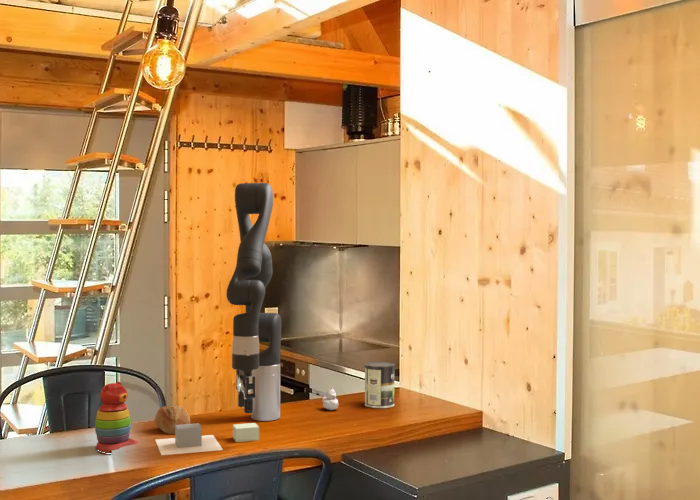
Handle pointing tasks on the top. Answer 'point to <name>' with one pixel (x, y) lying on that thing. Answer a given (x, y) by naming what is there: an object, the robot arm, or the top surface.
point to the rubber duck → (330, 400)
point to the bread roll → (171, 418)
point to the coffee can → (379, 384)
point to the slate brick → (188, 435)
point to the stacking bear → (113, 419)
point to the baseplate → (170, 447)
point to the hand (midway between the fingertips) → (245, 409)
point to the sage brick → (245, 432)
